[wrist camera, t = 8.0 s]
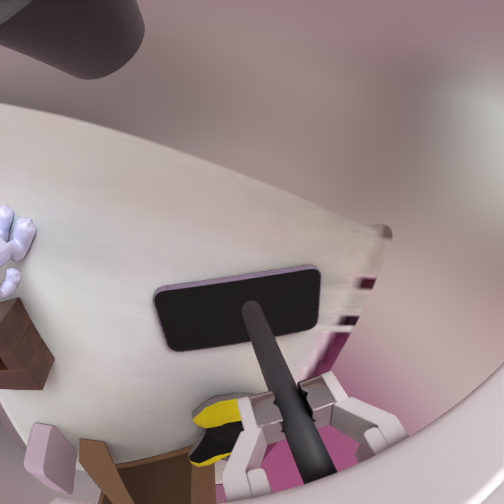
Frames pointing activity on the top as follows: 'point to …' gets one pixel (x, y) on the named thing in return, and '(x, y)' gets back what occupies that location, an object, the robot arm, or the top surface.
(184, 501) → the photo frame
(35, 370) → the pen block
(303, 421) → the stylus
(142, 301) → the top surface
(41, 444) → the electronic device
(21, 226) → the toy figurine
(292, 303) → the smartphone
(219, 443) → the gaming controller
